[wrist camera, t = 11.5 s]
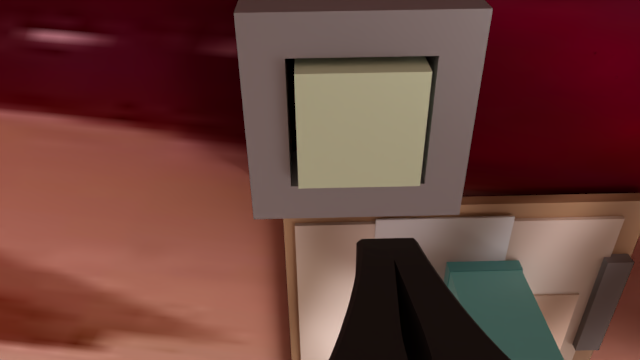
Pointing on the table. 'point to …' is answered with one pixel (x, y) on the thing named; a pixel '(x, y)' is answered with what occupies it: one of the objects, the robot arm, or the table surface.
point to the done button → (361, 120)
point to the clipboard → (477, 245)
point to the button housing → (359, 41)
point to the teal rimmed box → (503, 307)
